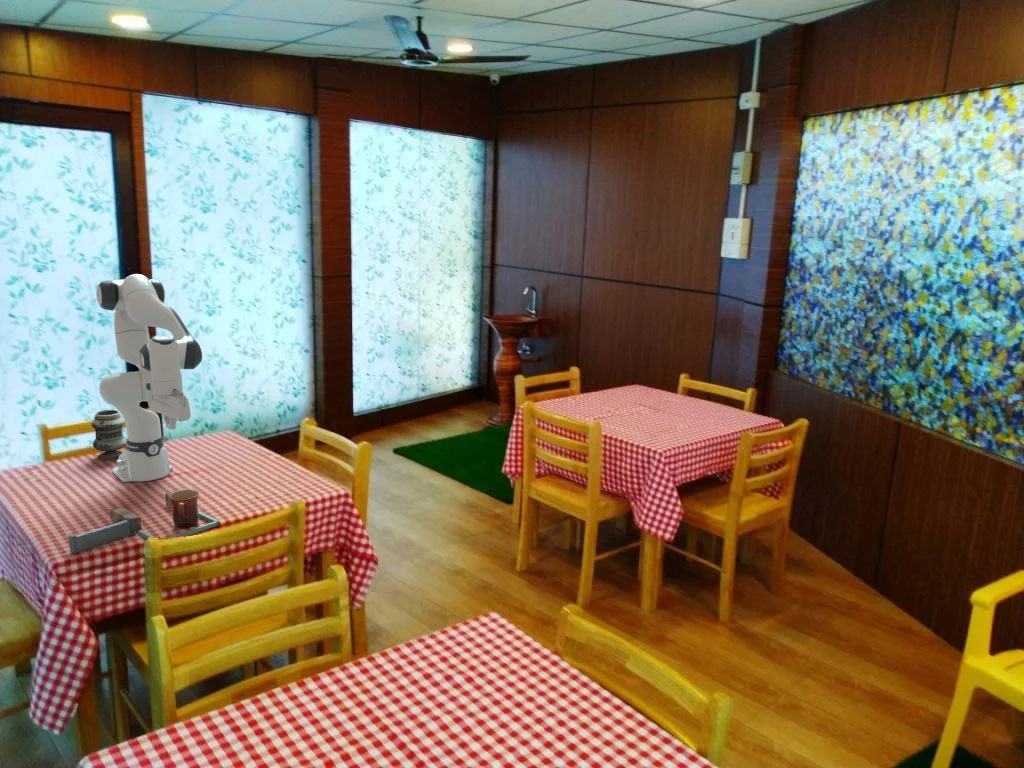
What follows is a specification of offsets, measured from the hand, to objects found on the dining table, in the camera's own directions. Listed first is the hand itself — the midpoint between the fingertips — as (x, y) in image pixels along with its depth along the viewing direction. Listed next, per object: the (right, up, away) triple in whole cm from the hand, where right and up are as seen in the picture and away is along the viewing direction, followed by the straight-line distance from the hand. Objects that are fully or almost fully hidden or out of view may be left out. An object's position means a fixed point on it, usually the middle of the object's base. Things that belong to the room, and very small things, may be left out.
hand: (170, 428), depth 253 cm
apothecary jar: (-48, -14, +56) cm, 75 cm away
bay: (+7, -31, -10) cm, 33 cm away
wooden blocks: (-5, -28, -1) cm, 29 cm away
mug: (+8, -31, -8) cm, 33 cm away
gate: (-11, -33, -20) cm, 40 cm away
